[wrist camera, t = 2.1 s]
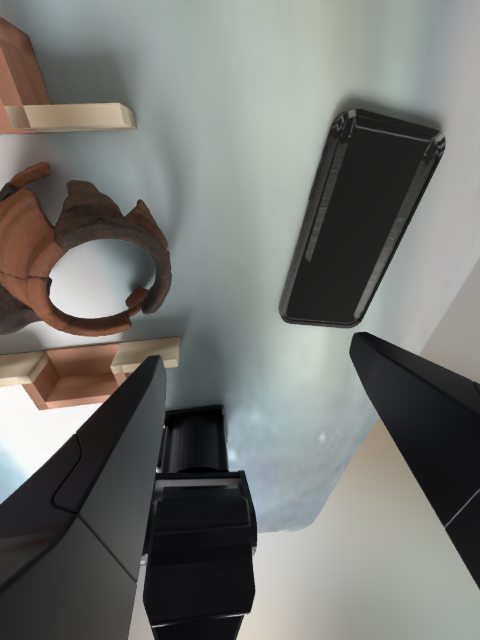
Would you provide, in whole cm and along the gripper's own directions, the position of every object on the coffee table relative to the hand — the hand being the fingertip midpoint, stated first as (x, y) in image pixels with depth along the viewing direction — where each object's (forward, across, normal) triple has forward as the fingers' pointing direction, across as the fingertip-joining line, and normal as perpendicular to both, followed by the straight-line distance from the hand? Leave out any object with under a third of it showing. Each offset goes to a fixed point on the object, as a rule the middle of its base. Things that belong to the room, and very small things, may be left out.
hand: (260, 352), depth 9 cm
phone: (+13, -9, 0) cm, 16 cm away
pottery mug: (+12, +10, -1) cm, 16 cm away
